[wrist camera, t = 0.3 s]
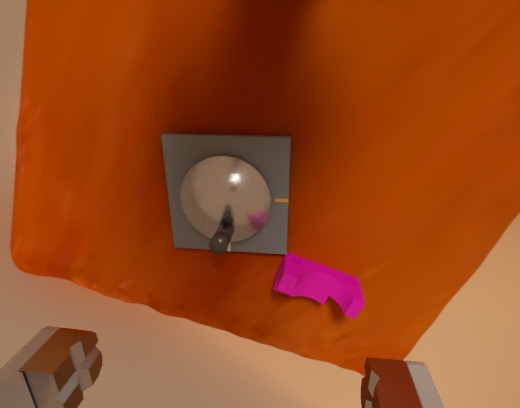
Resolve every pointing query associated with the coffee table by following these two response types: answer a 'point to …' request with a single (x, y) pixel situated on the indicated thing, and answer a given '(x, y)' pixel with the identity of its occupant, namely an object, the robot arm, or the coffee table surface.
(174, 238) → the dial plate
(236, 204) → the dial
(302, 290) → the toy block
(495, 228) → the coffee table surface
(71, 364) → the robot arm
